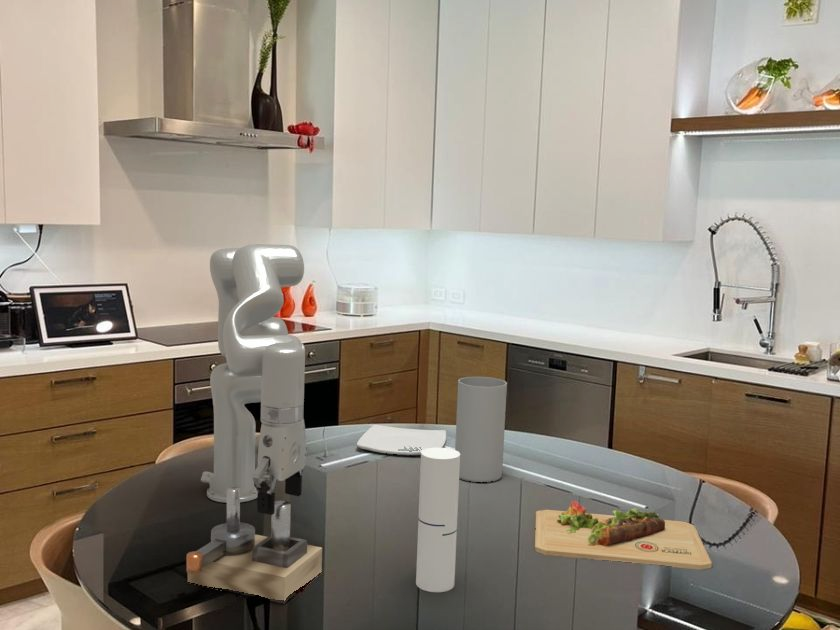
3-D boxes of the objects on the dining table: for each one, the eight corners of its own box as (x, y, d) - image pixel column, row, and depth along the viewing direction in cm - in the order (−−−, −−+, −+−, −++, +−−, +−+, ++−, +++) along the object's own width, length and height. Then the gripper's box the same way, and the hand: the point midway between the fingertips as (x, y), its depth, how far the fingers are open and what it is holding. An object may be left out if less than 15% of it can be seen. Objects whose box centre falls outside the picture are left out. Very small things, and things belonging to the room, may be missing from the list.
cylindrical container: (414, 575, 160) (419, 447, 157) (451, 575, 161) (457, 447, 158) (417, 592, 153) (422, 458, 150) (456, 592, 154) (462, 459, 151)
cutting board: (534, 557, 172) (536, 521, 171) (535, 515, 195) (537, 484, 194) (712, 574, 167) (715, 537, 166) (692, 529, 190) (695, 497, 189)
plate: (351, 454, 236) (351, 445, 236) (371, 431, 260) (371, 423, 260) (437, 462, 232) (438, 452, 232) (449, 438, 256) (450, 429, 256)
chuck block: (187, 582, 154) (187, 543, 153) (230, 553, 167) (231, 517, 166) (284, 604, 147) (285, 563, 146) (321, 572, 160) (322, 534, 159)
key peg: (283, 561, 152) (284, 508, 151) (267, 558, 153) (268, 505, 152) (292, 554, 155) (294, 502, 154) (276, 551, 157) (277, 499, 155)
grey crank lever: (170, 569, 147) (170, 508, 145) (226, 534, 163) (227, 479, 161) (209, 578, 144) (209, 516, 143) (262, 541, 160) (263, 485, 159)
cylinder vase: (446, 470, 224) (450, 378, 220) (488, 466, 229) (492, 375, 225) (467, 485, 212) (471, 388, 209) (510, 481, 217) (515, 385, 214)
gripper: (275, 428, 142) (273, 525, 144) (323, 404, 158) (320, 491, 160) (237, 421, 144) (235, 516, 147) (287, 398, 160) (285, 484, 163)
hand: (279, 503), depth 154 cm, fingers open, 9 cm apart
